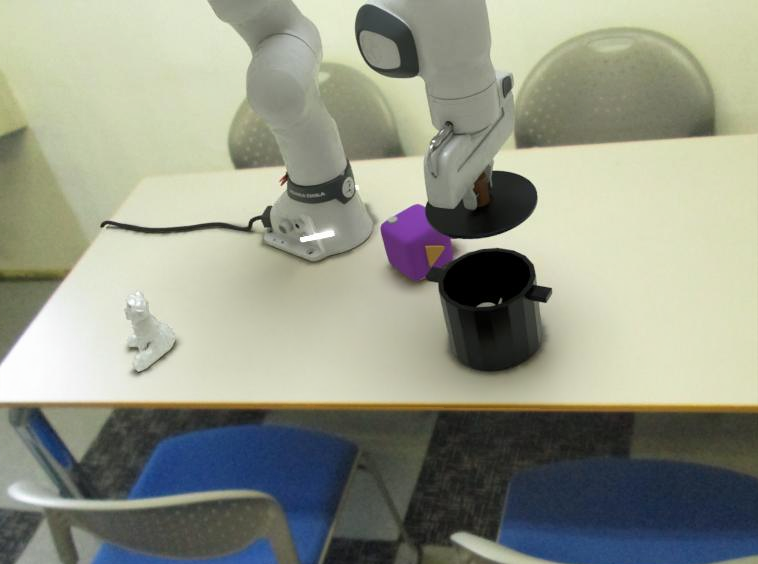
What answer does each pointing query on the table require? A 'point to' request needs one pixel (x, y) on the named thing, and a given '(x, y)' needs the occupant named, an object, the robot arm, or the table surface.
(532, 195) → the pot lid
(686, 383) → the table surface
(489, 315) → the pot
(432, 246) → the toy camera
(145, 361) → the sitting furry creature
